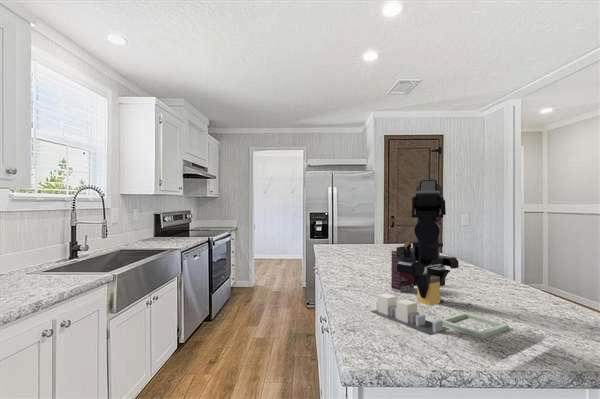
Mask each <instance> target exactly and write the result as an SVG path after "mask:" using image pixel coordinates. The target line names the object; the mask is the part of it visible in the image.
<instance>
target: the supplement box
mask: <svg viewBox="0 0 600 399" xmlns="http://www.w3.org/2000/svg"><path fill="white" fill-rule="evenodd" d="M399 261H401V259H398V258H397V256H396V249H395V250H391V284H390V285H391V286H390V287H391V289H390V290H392V291H394V292H397V293H403V292H407V291H411V290H414V289H415V285H414V278H413V277H412V276H411V275H409V274H405V273H401V272H397V263H398V262H399Z"/></svg>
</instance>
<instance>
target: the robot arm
mask: <svg viewBox="0 0 600 399" xmlns="http://www.w3.org/2000/svg"><path fill="white" fill-rule="evenodd" d="M437 182H438V180H437V179H434V178H429V179H427V178H426V179H421V180H420V181H419V185H418V186H416V188H415V194H414V196H412V199H411V200H412V201H411V218H417V220H416V224H415V226H414V235H415V237H416V241H412V246H411V248H408V249H406V248H405V247H404V245H403V246H398V247H396V249H395V250H396V256H397V258H398V259H401V261H399V262H398V263H397V272H401V273H405V274H409V275H411V276H412V277H413V278H414V280H415V282H416V284H415V285H416V288H417V287H418V290H419V293H420V296H421V298H426V294H427V291H428V286H429V282H430V278H431V275H433V276H438V277H440V288H441V287H443V286H446V277H448V274H449V273H450V272H451V270H450V269H452V270H453V269H459V266H460V265H459V262H460V261H459V260H458V258H457V257H456V256H449V255H440V252H441V251H440V250H441V249H440V248H444V242H440V233H441V232H440V221H439V220H438V218H439V219H442V218H444V216H445V215H446V214H447V213H446V211H447V210H446V200H445V198H444V196H443V187H442V186H440V185H439V184H438V183H437ZM447 267H449V269H446V268H447ZM443 302H445V301H444V299H441V298H440V303H443ZM440 303H439V304H440Z"/></svg>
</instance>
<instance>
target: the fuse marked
mask: <svg viewBox="0 0 600 399" xmlns="http://www.w3.org/2000/svg"><path fill="white" fill-rule="evenodd" d="M416 288H417V303H420V304H423V305H426V306H430V307H431V306H434V305H437V304H440V299H441V287H440V277H438V276H433V275H431V278H430V282H429V286H428V291H427V294H426V298H421V296H420V293H419V290H418V287H417V286H416Z"/></svg>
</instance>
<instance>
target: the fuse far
mask: <svg viewBox="0 0 600 399" xmlns="http://www.w3.org/2000/svg"><path fill="white" fill-rule="evenodd" d="M396 301H398V296H397V295H393V294H390V293H383V294H378V295H377V302H378V312H380V313H383V314H386V315H390V309H389V307H391V306H395V305H396Z"/></svg>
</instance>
